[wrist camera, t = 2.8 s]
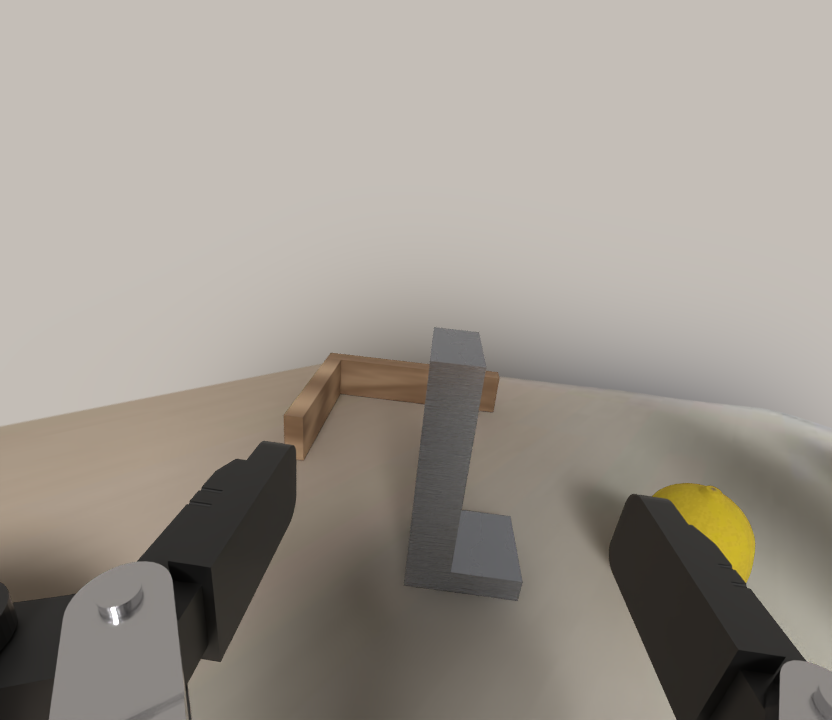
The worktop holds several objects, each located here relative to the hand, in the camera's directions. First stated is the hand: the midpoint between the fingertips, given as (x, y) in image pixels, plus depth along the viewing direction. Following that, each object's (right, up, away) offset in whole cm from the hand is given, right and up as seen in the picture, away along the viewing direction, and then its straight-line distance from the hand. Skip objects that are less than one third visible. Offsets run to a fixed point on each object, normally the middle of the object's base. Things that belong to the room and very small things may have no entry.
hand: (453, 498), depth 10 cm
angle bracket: (+2, -9, +16) cm, 18 cm away
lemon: (+14, -11, +15) cm, 23 cm away
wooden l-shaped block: (-2, -3, +29) cm, 29 cm away
